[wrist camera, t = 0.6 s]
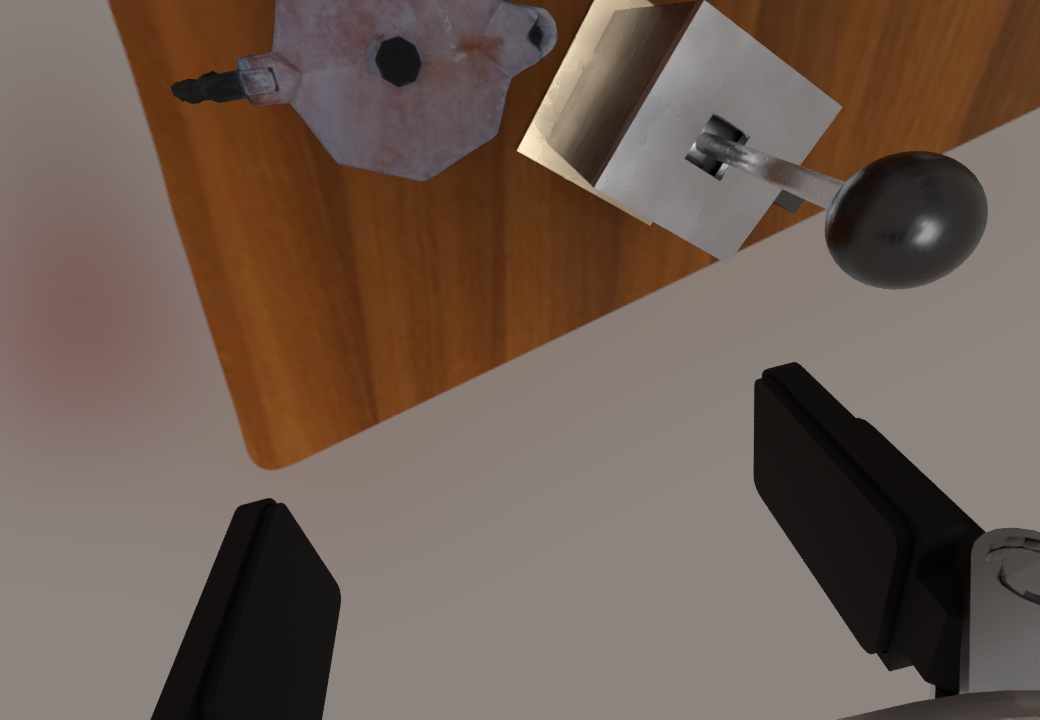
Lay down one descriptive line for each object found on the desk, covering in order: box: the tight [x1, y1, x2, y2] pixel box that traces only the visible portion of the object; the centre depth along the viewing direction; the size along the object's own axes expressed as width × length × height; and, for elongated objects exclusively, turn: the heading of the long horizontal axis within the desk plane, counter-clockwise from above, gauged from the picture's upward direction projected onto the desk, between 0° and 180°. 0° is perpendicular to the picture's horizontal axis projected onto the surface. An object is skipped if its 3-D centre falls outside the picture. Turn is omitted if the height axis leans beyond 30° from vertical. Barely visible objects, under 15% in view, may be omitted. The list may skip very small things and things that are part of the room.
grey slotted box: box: [516, 0, 842, 264], centre depth 34 cm, size 12×13×14 cm
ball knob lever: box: [684, 114, 988, 289], centre depth 22 cm, size 6×6×17 cm
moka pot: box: [171, 0, 558, 182], centre depth 27 cm, size 10×15×20 cm, turn 102°
